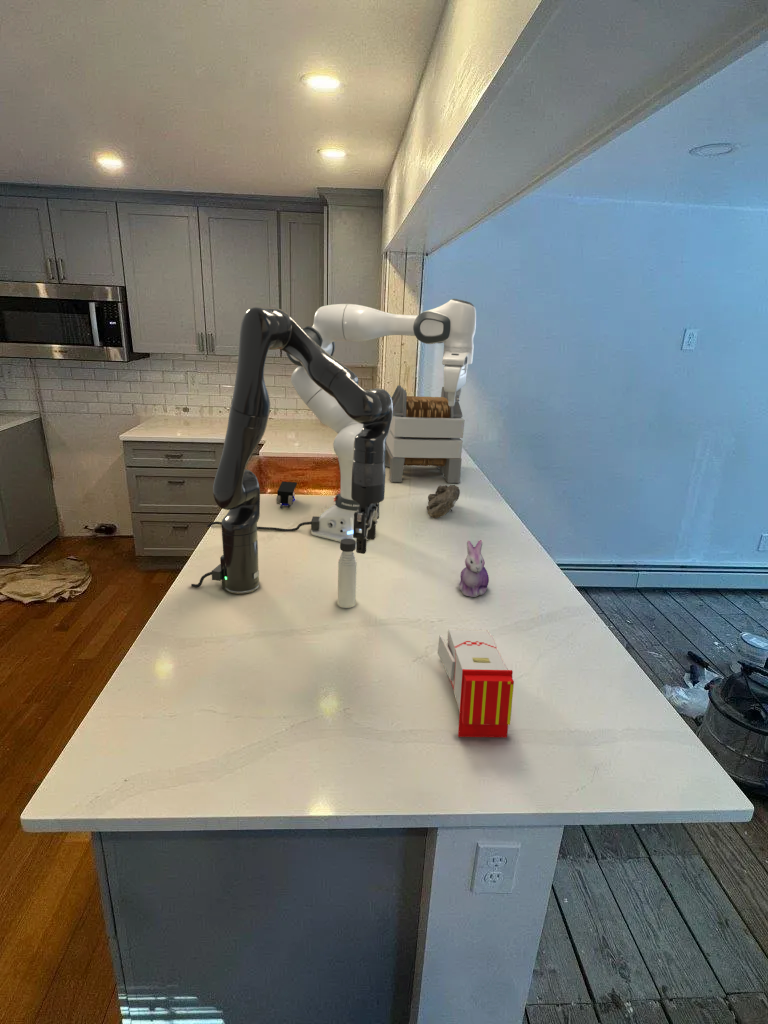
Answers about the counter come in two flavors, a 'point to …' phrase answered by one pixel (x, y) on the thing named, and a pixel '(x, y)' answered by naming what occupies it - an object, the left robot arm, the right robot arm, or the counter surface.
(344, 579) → the bottle
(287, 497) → the figurine character
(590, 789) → the counter surface
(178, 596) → the counter surface
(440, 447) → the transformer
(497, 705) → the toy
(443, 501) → the fossil
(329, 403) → the right robot arm
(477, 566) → the figurine
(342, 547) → the cap
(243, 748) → the counter surface
